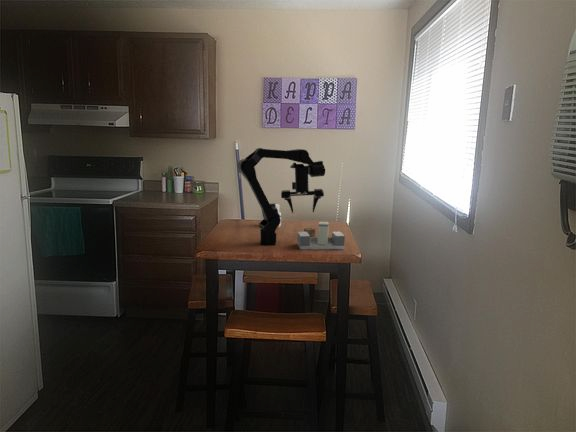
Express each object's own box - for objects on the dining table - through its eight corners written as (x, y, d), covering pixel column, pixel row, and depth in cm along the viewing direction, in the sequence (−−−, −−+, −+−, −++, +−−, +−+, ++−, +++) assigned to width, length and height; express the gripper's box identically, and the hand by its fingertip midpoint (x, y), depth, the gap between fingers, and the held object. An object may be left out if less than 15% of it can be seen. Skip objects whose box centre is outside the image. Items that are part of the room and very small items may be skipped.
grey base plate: (300, 249, 186) (300, 242, 185) (296, 243, 196) (297, 237, 195) (344, 249, 188) (344, 242, 188) (338, 243, 198) (339, 237, 197)
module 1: (300, 245, 186) (300, 235, 185) (297, 241, 194) (297, 231, 193) (309, 245, 186) (309, 235, 186) (306, 241, 194) (306, 231, 194)
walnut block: (307, 238, 208) (307, 229, 207) (303, 236, 211) (303, 228, 210) (315, 237, 209) (315, 229, 209) (311, 235, 213) (311, 227, 212)
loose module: (317, 244, 190) (318, 223, 188) (318, 241, 194) (319, 221, 192) (327, 244, 189) (328, 224, 187) (327, 242, 194) (328, 222, 192)
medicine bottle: (265, 227, 230) (265, 204, 228) (267, 224, 237) (268, 202, 235) (279, 228, 229) (279, 205, 227) (281, 225, 236) (281, 203, 234)
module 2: (335, 245, 188) (336, 235, 187) (331, 241, 196) (332, 231, 195) (344, 245, 188) (344, 235, 188) (339, 241, 196) (340, 231, 195)
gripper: (321, 175, 203) (322, 208, 206) (280, 176, 203) (282, 210, 206) (323, 177, 192) (324, 212, 195) (280, 179, 192) (282, 214, 195)
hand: (302, 212), depth 198 cm, fingers open, 9 cm apart
